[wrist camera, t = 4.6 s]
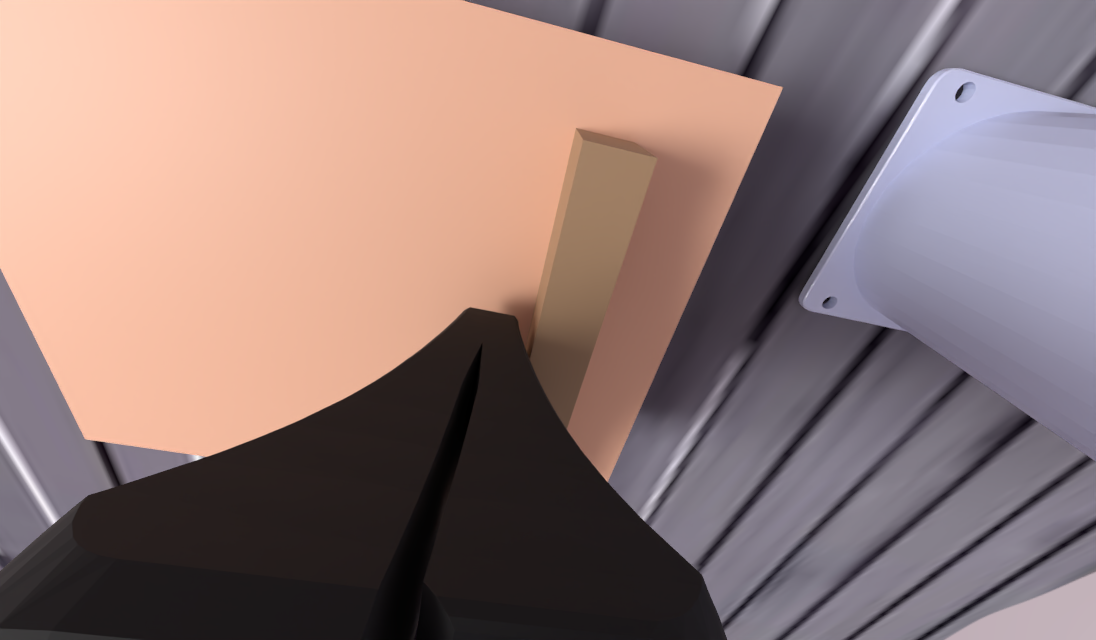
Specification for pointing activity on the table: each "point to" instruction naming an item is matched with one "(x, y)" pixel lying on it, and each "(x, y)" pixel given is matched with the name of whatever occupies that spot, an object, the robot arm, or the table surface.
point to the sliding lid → (348, 203)
